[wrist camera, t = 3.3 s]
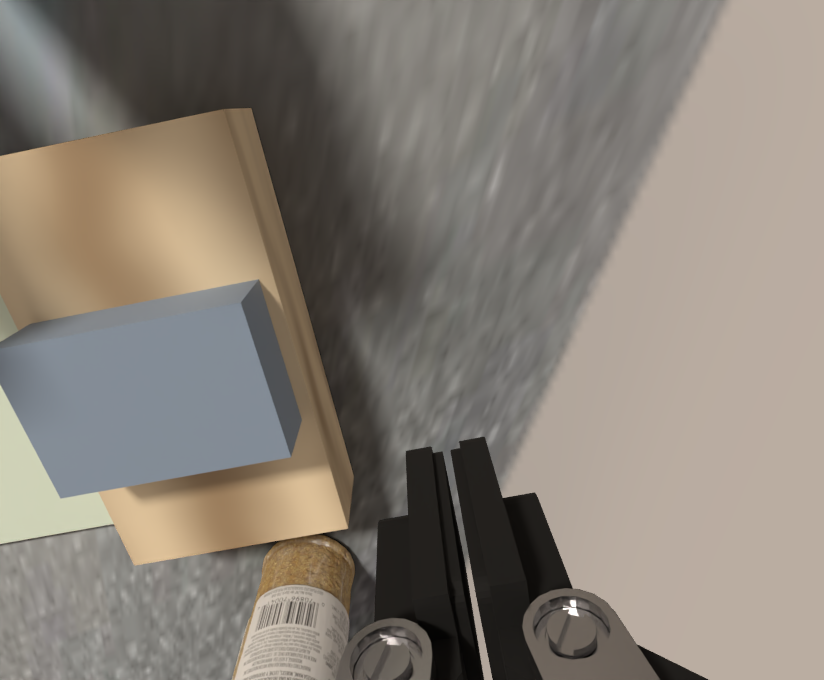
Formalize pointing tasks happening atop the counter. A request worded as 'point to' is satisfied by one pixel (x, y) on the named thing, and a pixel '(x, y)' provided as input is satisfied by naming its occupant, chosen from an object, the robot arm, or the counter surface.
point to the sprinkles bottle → (299, 612)
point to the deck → (168, 276)
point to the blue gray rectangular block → (152, 390)
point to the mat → (34, 481)
